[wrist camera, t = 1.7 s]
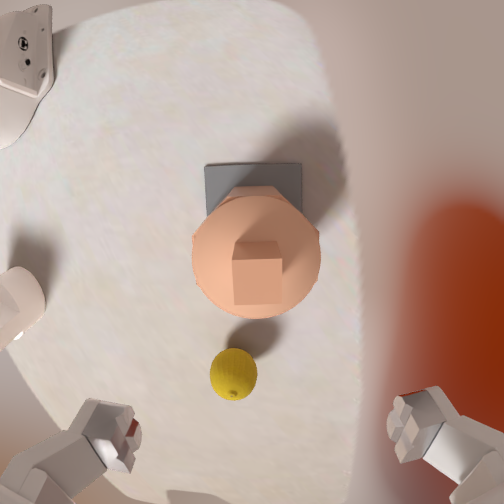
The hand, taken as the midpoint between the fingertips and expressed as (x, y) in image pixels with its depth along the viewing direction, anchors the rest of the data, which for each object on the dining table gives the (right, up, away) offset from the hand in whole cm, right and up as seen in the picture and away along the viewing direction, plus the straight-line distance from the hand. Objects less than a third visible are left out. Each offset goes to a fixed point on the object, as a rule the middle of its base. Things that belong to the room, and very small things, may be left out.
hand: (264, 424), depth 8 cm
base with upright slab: (-35, -1, +27) cm, 44 cm away
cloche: (0, +7, +24) cm, 25 cm away
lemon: (-3, -8, +29) cm, 30 cm away
